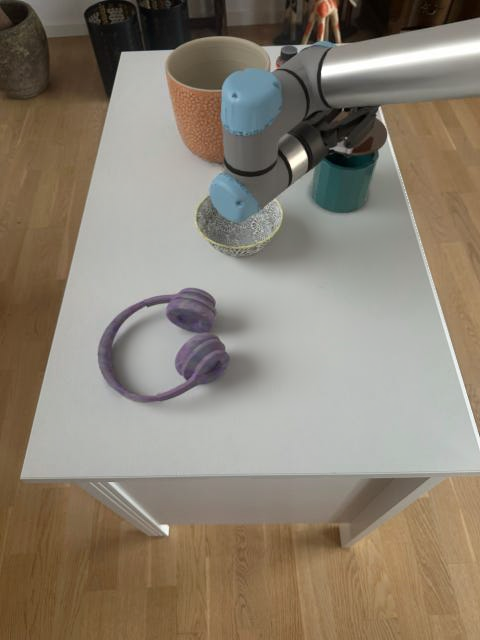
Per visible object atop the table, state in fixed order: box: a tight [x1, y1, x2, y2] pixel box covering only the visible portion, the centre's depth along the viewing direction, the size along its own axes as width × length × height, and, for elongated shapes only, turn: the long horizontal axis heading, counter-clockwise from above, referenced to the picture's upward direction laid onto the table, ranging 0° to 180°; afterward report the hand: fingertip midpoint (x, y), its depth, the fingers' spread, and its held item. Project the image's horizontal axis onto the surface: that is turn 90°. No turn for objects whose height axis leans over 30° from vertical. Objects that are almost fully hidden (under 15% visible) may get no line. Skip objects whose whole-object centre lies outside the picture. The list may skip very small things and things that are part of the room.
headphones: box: [97, 287, 230, 403], centre depth 70 cm, size 18×8×20 cm
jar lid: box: [331, 107, 388, 155], centre depth 78 cm, size 13×13×9 cm
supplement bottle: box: [274, 44, 299, 70], centre depth 109 cm, size 6×6×11 cm
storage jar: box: [310, 150, 380, 214], centre depth 89 cm, size 12×12×10 cm
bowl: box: [194, 193, 284, 257], centre depth 83 cm, size 16×16×8 cm
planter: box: [164, 35, 272, 164], centre depth 95 cm, size 21×21×19 cm
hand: (375, 92), depth 79 cm, fingers closed on jar lid, 3 cm apart
